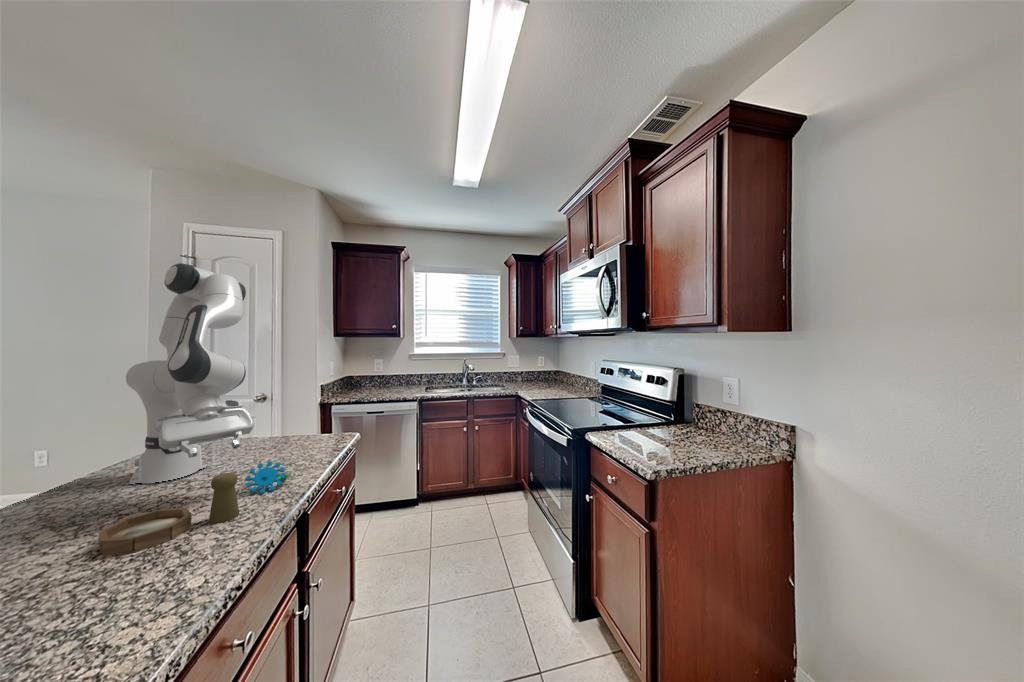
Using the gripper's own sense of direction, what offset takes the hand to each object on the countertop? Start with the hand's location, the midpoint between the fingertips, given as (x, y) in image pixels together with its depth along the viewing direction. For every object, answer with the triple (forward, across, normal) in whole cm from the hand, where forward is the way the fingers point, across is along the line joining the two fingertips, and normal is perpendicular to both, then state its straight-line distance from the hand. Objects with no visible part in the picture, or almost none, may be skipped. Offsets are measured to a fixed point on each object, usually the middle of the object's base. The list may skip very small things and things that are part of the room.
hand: (216, 451), depth 94 cm
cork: (+18, -1, +3) cm, 18 cm away
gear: (+11, +12, +10) cm, 20 cm away
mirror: (+14, -14, +6) cm, 21 cm away
